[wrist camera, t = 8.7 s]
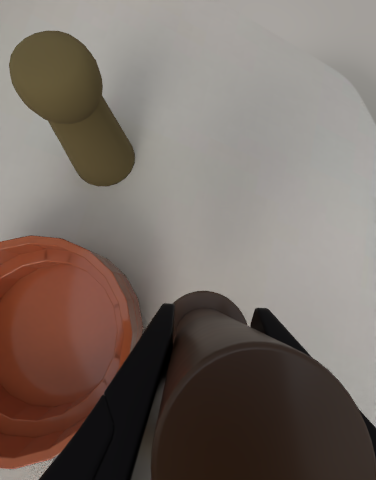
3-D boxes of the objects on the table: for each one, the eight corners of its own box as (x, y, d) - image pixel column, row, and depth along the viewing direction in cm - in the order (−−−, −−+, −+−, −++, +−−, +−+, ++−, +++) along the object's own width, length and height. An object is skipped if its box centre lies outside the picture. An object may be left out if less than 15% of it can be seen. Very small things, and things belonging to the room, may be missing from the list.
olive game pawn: (115, 196, 24) (59, 115, 13) (62, 170, 24) (-35, 71, 13) (145, 146, 25) (117, 35, 14) (94, 122, 25) (29, -4, 15)
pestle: (239, 367, 14) (497, 701, 3) (164, 370, 14) (70, 738, 2) (233, 290, 15) (402, 275, 3) (162, 293, 15) (90, 287, 3)
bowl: (94, 456, 19) (64, 512, 14) (-61, 378, 20) (-140, 406, 15) (169, 286, 22) (165, 284, 17) (30, 225, 23) (-11, 206, 18)
